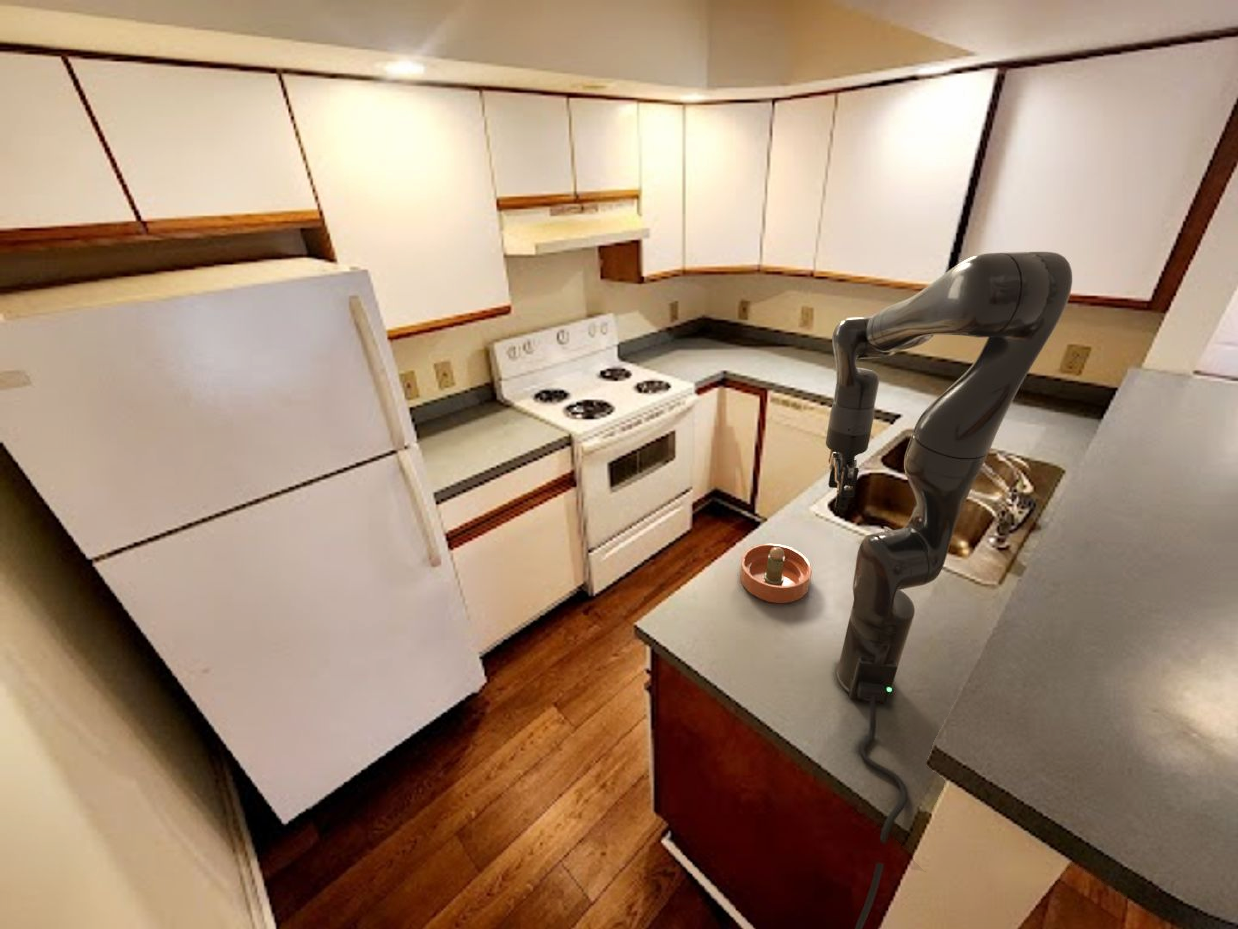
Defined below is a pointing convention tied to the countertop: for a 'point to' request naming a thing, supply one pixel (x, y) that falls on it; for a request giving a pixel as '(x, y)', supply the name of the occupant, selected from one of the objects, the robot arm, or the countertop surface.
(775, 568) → the peg doll
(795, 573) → the bowl
